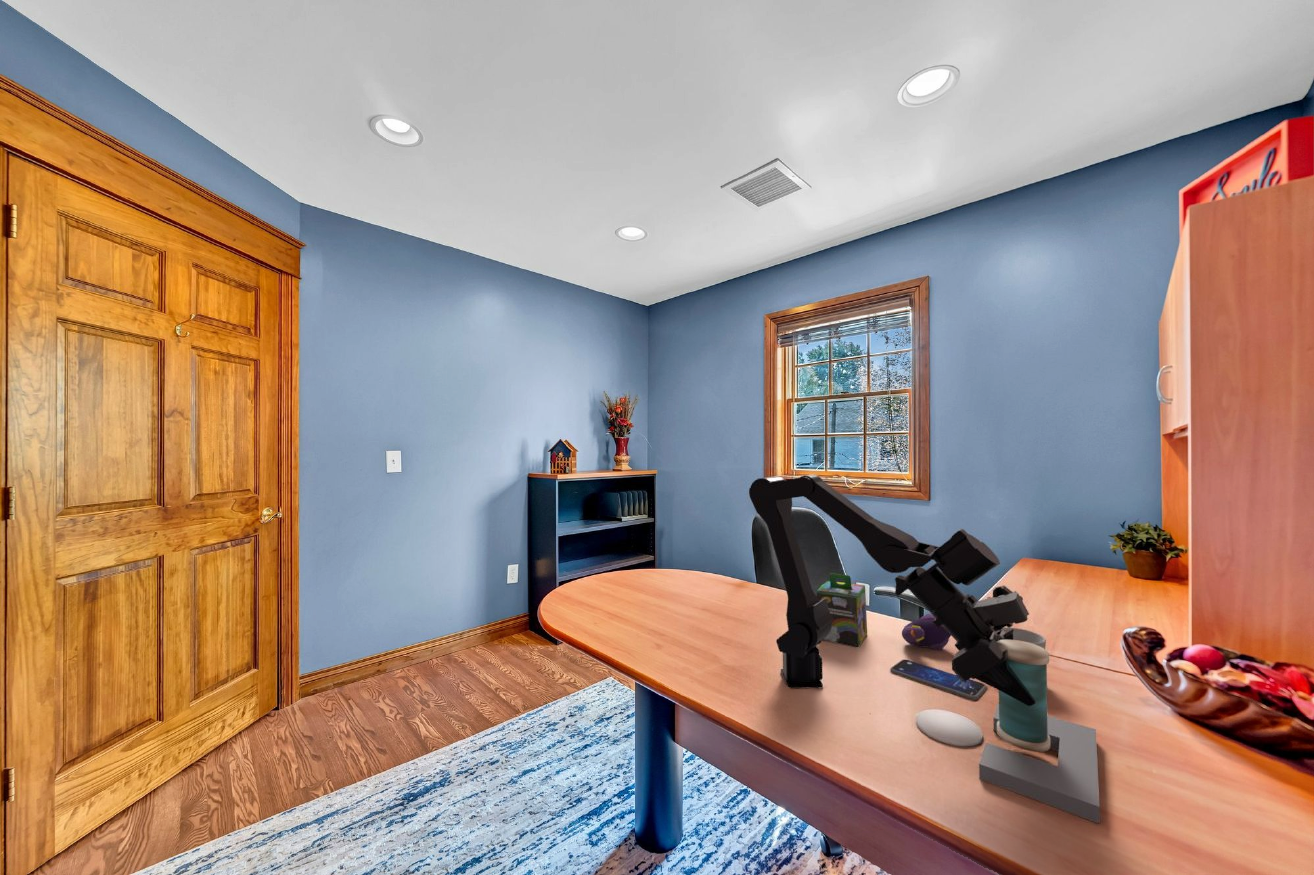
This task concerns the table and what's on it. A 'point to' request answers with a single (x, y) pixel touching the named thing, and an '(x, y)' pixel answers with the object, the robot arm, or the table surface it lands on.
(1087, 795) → the notched board
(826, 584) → the chalk box
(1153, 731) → the table surface
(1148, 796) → the table surface
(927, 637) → the toy
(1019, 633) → the cup
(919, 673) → the smartphone
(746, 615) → the table surface
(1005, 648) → the bobbin
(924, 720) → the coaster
